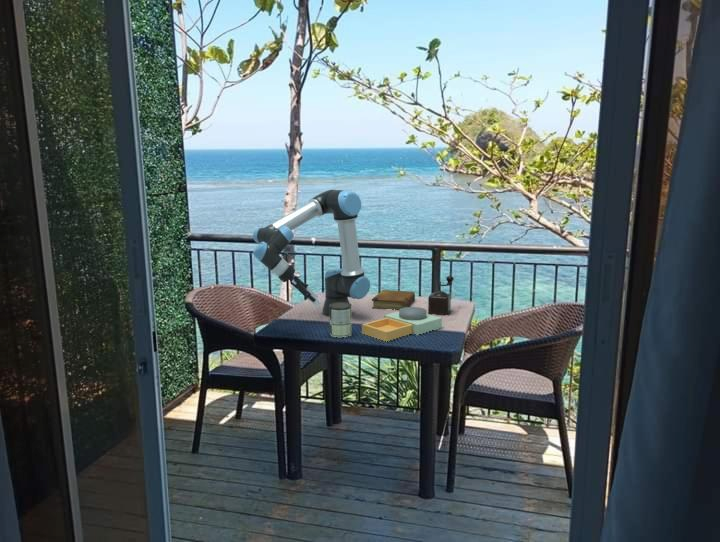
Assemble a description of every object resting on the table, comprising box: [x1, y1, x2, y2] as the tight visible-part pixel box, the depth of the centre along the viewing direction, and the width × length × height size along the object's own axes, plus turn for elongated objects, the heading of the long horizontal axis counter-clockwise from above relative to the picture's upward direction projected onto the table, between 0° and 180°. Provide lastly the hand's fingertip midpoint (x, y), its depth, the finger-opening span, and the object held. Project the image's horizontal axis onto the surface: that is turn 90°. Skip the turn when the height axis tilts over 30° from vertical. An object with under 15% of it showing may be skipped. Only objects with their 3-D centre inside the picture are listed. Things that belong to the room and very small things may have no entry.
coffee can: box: [329, 302, 353, 339], centre depth 263 cm, size 10×10×14 cm
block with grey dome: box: [383, 306, 443, 336], centre depth 274 cm, size 22×17×8 cm
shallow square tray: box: [361, 317, 413, 343], centre depth 264 cm, size 16×16×4 cm
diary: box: [371, 289, 416, 311], centre depth 316 cm, size 23×19×6 cm
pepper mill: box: [427, 275, 455, 316], centre depth 300 cm, size 16×11×18 cm
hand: (318, 301), depth 259 cm, fingers open, 13 cm apart
